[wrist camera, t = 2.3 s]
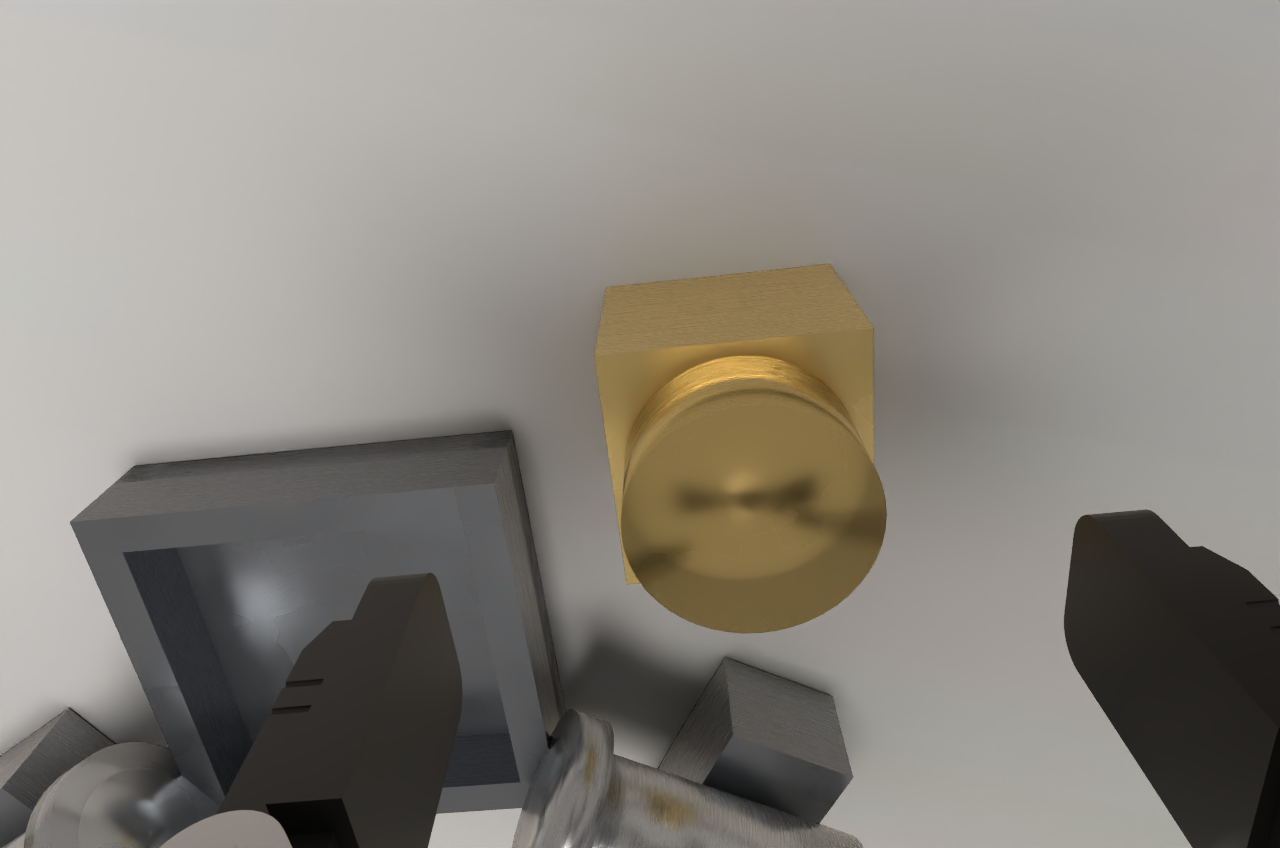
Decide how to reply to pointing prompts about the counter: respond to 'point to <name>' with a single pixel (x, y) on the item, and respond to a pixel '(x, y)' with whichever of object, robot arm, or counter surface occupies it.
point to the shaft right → (699, 775)
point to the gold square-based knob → (742, 443)
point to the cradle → (327, 592)
